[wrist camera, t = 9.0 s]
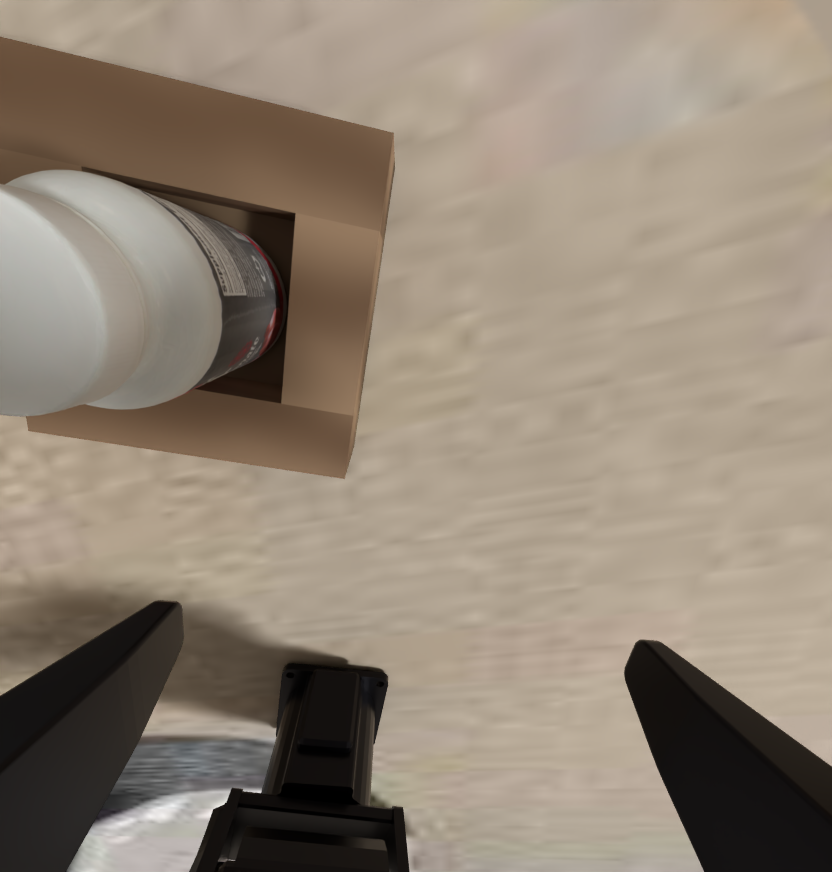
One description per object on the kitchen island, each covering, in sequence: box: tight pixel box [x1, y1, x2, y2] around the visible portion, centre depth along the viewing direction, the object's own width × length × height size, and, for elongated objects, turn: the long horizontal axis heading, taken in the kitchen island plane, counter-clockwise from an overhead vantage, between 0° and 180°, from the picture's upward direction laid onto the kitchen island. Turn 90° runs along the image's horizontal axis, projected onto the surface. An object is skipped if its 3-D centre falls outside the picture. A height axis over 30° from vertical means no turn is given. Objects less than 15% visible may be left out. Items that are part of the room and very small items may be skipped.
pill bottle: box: [0, 170, 287, 417], centre depth 11 cm, size 5×5×10 cm
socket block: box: [0, 37, 395, 479], centre depth 15 cm, size 12×12×4 cm
